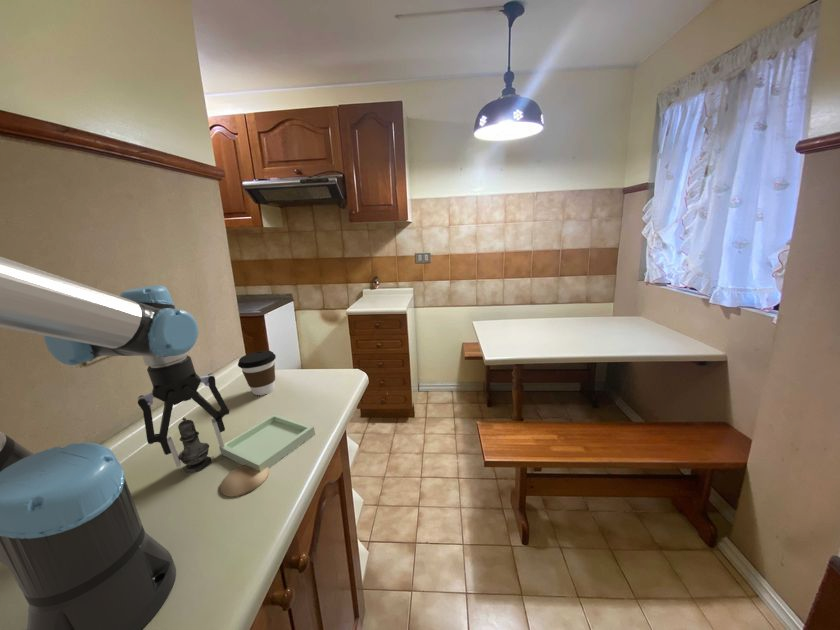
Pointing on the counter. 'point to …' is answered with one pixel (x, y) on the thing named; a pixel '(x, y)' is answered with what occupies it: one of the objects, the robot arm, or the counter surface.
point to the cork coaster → (243, 481)
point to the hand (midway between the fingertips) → (200, 453)
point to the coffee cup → (259, 371)
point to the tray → (267, 442)
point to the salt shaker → (192, 448)
